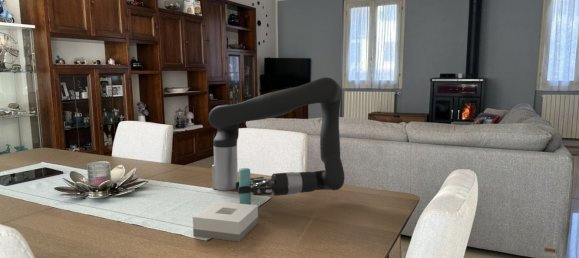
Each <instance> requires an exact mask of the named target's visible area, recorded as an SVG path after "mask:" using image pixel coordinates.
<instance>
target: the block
mask: <svg viewBox="0 0 579 258" xmlns="http://www.w3.org/2000/svg"><path fill="white" fill-rule="evenodd" d="M258 224H259V205H257V204H251V205H248V204H240V203H238V202H237V203H236V202H225V201H214V202H212V203H211V204H210V205H209V206H207V207H205V208H204V209H202V210H201V211H199V212H198V213H197V214H195V215H194V216H192V230H193V231H192V233H193V237H201V238H208V239H209V238H211V239H217V240H225V241H233V242H241V241H242V240H243V239H244V238H245V237H246V236H247V234H249V232H250V231H252V230H253V229H254V228H255V227H256V226H257V225H258Z"/></svg>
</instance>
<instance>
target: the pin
mask: <svg viewBox="0 0 579 258" xmlns="http://www.w3.org/2000/svg"><path fill="white" fill-rule="evenodd" d="M250 178H251V168H246V167H245V168H244V167H243V168H239V170H238V182H239V187H242V186H250ZM251 196H252V194H251V193H244V194H239V204H248V205H252V202H251V201H252V199H251Z"/></svg>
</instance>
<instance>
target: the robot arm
mask: <svg viewBox="0 0 579 258" xmlns="http://www.w3.org/2000/svg"><path fill="white" fill-rule="evenodd" d="M341 100H342V88H341V85H340V84H339V83H338V82H337V81H336V80H335V79H333V78H331V77H321V78H318V79H315V80H313V81H310V82H308V83H304V84H302V85H299V86H295V87H290V88H289V87H288V88H285V89H284V88H283V89H280V90H275V91H272V92H268V93H264V94H261V95H258V96H255V97H253V98H250V99H248V100H245V101H242V102H239V103H234V104H221V105H217V106H215V107H214V108H212V109H211V110H210V112H209V113H208V118H207V119H208V123H209V124H210V125H211V126H212V127H213V128H214V129H217V130H216V135H215V137H214V138H213V140H212V142H213V164H212V166H211V173H212V174H211V175H212V189H213V190H214V189H215V190H217V191H223V192H225V191H232V190H236V189H237V191H238V194H239V195H240V194H244V193H251V195H253V196H271V195H274V196H275V197H277V196H289V195H296V194H301V193H303V194H304V193H310V192H311V193H312V192H314V191H321V190H329V191H330V190H331V191H339V190H340V189H341V188H342V187H343V185H344V184H345V171H344V166H343V162H342V159H341V140H340V137H341V136H340V108H341ZM313 104H314V105H315V104H320V108H321V129H320V137H319V138H320V139H319V151H320V160H321V162H322V163H323V165H324V170H316V171H299V172H295V171H289V172H278V173H277V172H275V173H274V172H273V173H272V174H271V178H270V179H268V178H265V177H264V176H259V177H250V186H242V187H239V170H238V167H239V166H238V140H239V133H240V131H239V129H240V124H242V123H245V122H251V121H252V122H253V121H260V120H262V121H263V120H266V119H273V118H276V117H280V116H283V115H286V114H288V113H291V112H293V111H294V110H296V109H298V108H301V107H303V106H307V105H313Z"/></svg>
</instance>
